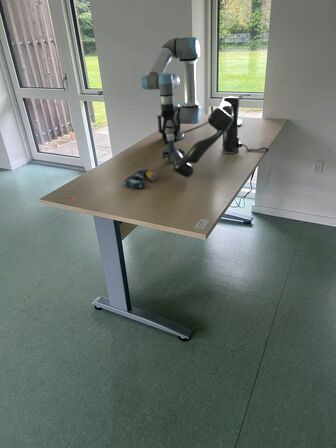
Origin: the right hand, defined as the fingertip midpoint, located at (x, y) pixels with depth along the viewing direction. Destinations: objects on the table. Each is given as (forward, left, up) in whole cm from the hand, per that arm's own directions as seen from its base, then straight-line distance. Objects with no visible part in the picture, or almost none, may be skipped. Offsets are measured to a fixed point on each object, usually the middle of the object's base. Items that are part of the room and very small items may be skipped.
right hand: (170, 149), depth 208 cm
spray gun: (+23, +28, -6) cm, 36 cm away
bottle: (0, +3, -6) cm, 7 cm away
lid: (0, +3, +10) cm, 10 cm away
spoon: (-60, -47, -6) cm, 76 cm away
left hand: (0, +3, +5) cm, 6 cm away
